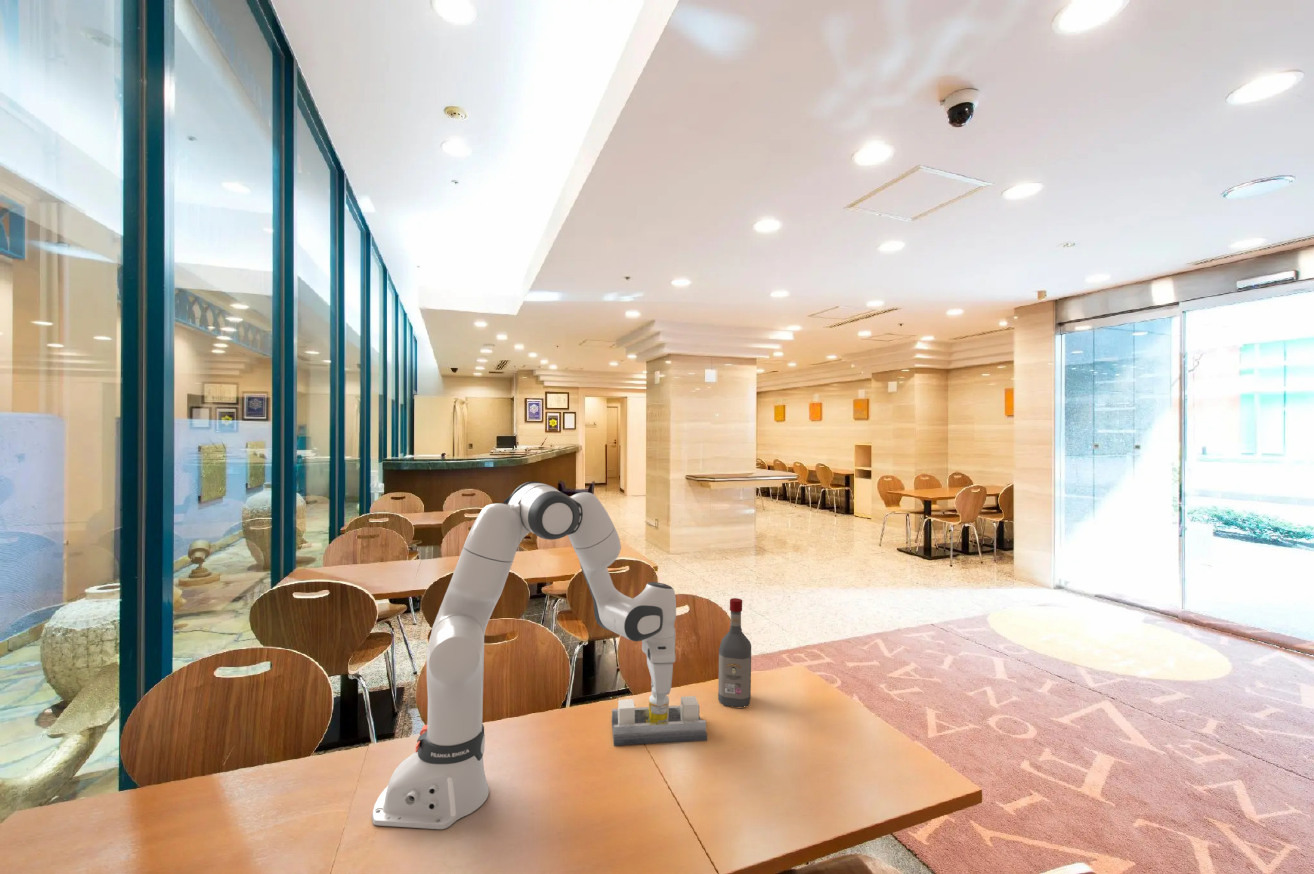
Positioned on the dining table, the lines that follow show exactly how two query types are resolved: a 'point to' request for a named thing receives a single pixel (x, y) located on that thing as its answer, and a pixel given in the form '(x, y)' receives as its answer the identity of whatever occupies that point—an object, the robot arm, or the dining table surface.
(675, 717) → the rail
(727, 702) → the liquor
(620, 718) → the rail posts
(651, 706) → the supplement bottle
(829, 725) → the dining table surface
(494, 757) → the dining table surface
